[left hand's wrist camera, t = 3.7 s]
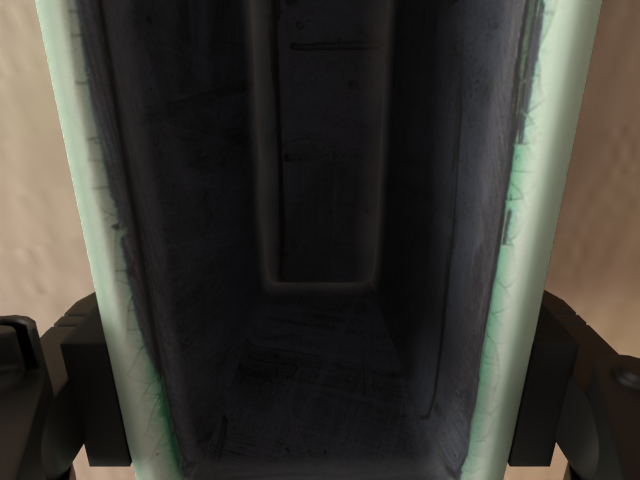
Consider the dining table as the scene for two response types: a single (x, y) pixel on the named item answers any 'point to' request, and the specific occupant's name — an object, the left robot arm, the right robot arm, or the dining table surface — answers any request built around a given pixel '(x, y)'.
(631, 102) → the dining table surface
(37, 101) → the dining table surface
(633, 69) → the dining table surface
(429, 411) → the planter
